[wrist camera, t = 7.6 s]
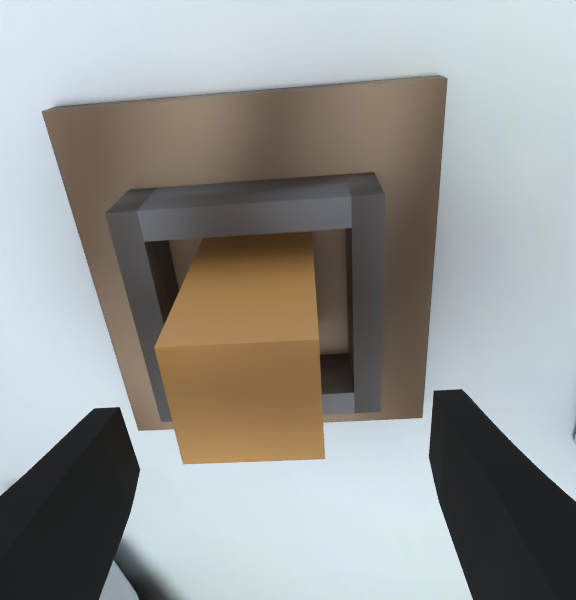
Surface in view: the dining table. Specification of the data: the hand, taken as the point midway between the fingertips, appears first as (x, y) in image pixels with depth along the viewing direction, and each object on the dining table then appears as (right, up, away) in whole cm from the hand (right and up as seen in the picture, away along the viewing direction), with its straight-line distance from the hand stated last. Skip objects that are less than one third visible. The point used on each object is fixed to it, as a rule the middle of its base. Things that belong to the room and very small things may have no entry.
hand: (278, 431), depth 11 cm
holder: (-1, +4, +9) cm, 9 cm away
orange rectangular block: (-1, +4, +8) cm, 8 cm away
